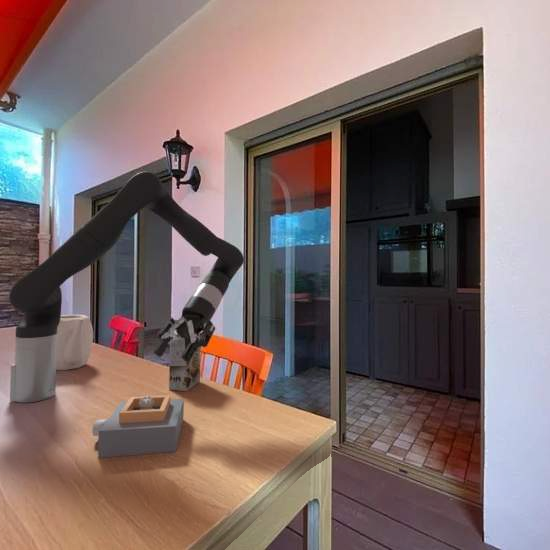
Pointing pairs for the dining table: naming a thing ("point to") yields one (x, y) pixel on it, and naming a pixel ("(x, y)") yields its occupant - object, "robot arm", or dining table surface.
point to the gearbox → (140, 428)
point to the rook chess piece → (146, 403)
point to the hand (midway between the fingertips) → (170, 357)
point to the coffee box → (183, 366)
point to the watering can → (73, 341)
